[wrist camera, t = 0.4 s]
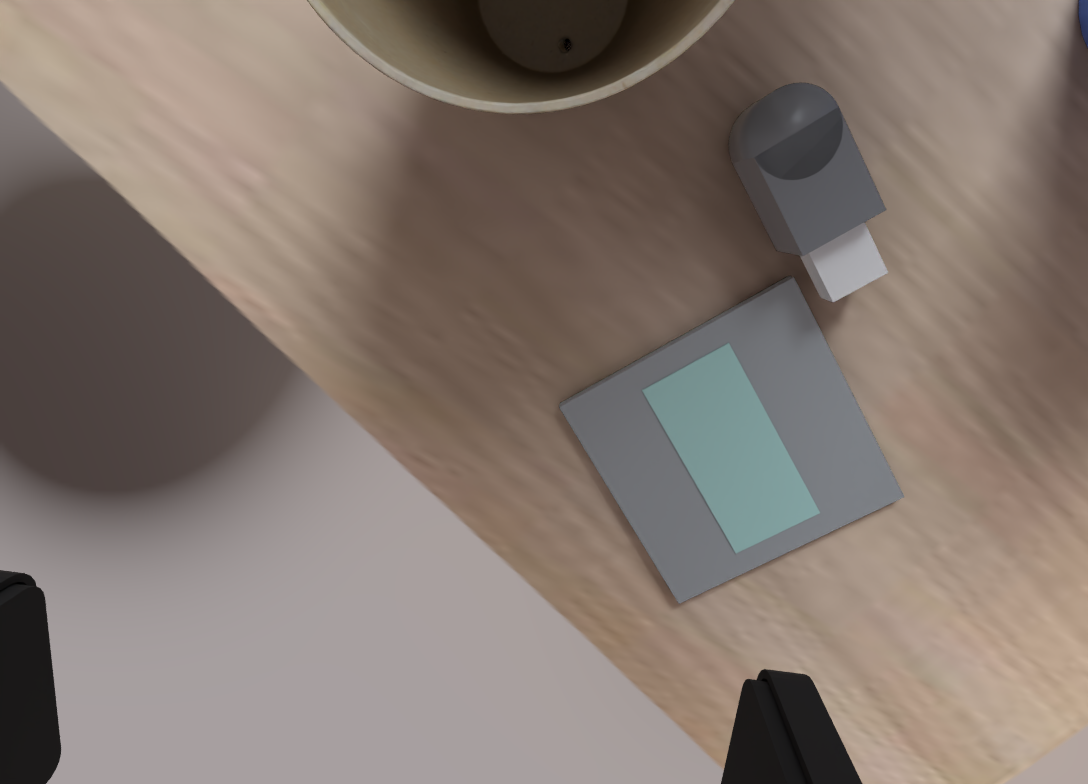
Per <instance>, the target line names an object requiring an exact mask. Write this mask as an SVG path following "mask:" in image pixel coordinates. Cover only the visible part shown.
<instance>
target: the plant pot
mask: <svg viewBox="0 0 1088 784" xmlns="http://www.w3.org/2000/svg"><path fill="white" fill-rule="evenodd" d="M307 1H308V2H309V4H310V5H311V6H312V8H313V9H314V10H315V11H316V13H317V14H318V15H319V16H320V18H321V19H322V20H323V21H324V22H325V23H326V25H327V26H328V27H329V28H330V29H331V30H332V31H333V32H334V33H335V34H336V35H337V36H338V37H339V38H340V39H341V40H342V41H343V42H344V43H345V44H346V45H347V46H348V47H350V48H351V49H352V50H353V51H354V52H355V53H356V54H358V55H359V56H360V57H362V58H363V59H364V60H365V61H367V62H368V63H369V64H371V65H372V66H373V67H375V68H376V69H377V70H379V71H380V72H382V73H383V74H384V75H386V76H388V77H390V78H391V79H393V80H395V81H396V82H398V83H400V84H402V85H404V86H406V87H408V88H410V89H412V90H414V91H416V92H418V93H420V94H423V95H425V96H427V97H430V98H432V99H435V100H438V101H441V102H444V103H447V104H450V105H453V106H458V107H462V108H466V109H470V110H476V111H483V112H489V113H501V114H534V113H546V112H554V111H561V110H565V109H570V108H574V107H578V106H583V105H586V104H589V103H592V102H595V101H599V100H602V99H604V98H607V97H609V96H612V95H614V94H617V93H619V92H621V91H624V90H626V89H628V88H630V87H631V86H633V85H635V84H637V83H639V82H641V81H643V80H644V79H646V78H648V77H650V76H651V75H653V74H654V73H656V72H657V71H659V70H660V69H662V68H663V67H665V66H666V65H668V64H669V63H671V62H672V61H673V60H675V59H676V58H677V57H679V56H680V55H681V54H682V53H684V52H685V51H686V50H687V49H688V48H689V47H691V46H692V45H693V44H694V43H695V42H696V41H698V40H699V39H700V38H701V37H702V36H703V35H704V34H705V33H706V32H707V31H708V30H709V29H710V28H711V27H712V26H713V25H714V24H715V23H716V22H717V21H718V20H719V19H720V18H721V17H722V16H723V14H724V13H725V12H726V11H727V10H728V8H729V7H730V6H731V5H732V4H733V2H734V1H735V0H307ZM566 39H569V40H570V42H571V48H570V50H566V49H565V47H564V42H565V40H566Z"/></svg>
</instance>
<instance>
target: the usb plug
mask: <svg viewBox="0 0 1088 784" xmlns="http://www.w3.org/2000/svg"><path fill="white" fill-rule="evenodd" d="M729 154H730V158H731V161H732V163H733V165H734V167H735V169H736V171H737V173H738V175H739V177H740V179H741V181H742V183H743V185H744V187H745V189H746V191H747V193H748V195H749V197H750V199H751V201H752V203H753V205H754V207H755V209H756V211H757V213H758V215H759V217H760V219H761V221H762V223H763V225H764V227H765V229H766V231H767V233H768V235H769V237H770V239H771V241H772V243H773V245H774V247H775V249H776V251H780V252H785V253H790V254H795V255H800V257H801V259H802V261H803V263H804V265H805V267H806V269H807V271H808V273H809V275H810V277H811V279H812V281H813V283H814V285H815V287H816V289H817V291H818V294H819V296H820V298H823V299H825V300H828V301H831V302H835V301H837V300H839V299H841V298H842V297H844V296H846V295H848V294H850V293H852V292H853V291H855V290H857V289H859V288H861V287H863V286H865V285H866V284H868V283H870V282H872V281H874V280H876V279H878V278H879V277H881V276H883V275H885V274H887V273H888V271H887V269H886V267H885V264H884V262H883V260H882V258H881V256H880V254H879V252H878V250H877V247H876V245H875V243H874V241H873V239H872V237H871V235H870V233H869V230H868V228H867V226H866V224H865V221H867V220H869V219H871V218H873V217H874V216H876V215H878V214H880V213H882V212H883V211H885V210H886V208H885V206H884V204H883V202H882V199H881V197H880V195H879V193H878V191H877V189H876V186H875V184H874V182H873V180H872V178H871V176H870V173H869V171H868V169H867V167H866V165H865V163H864V160H863V158H862V156H861V154H860V152H859V150H858V147H857V145H856V143H855V141H854V139H853V137H852V134H851V132H850V130H849V128H848V126H847V124H846V121H845V119H844V117H843V115H842V113H841V111H840V108H839V106H838V105H837V103H836V101H835V100H834V98H833V97H832V96H831V95H830V94H829V93H828V92H827V91H825V90H824V89H822V88H820V87H818V86H816V85H813V84H809V83H793V84H789V85H785V86H783V87H781V88H779V89H777V90H775V91H773V92H772V93H770V94H769V95H767V96H765V97H764V98H762V99H761V100H759V101H757V102H756V103H754V104H753V105H751V106H750V107H748V108H747V109H746V110H745V111H743V112H742V113H741V115H740V116H739V117H738V118H737V120H736V121H735V123H734V125H733V127H732V130H731V132H730V136H729Z"/></svg>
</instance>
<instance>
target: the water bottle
mask: <svg viewBox="0 0 1088 784" xmlns="http://www.w3.org/2000/svg"><path fill="white" fill-rule="evenodd" d="M1079 21H1080V26H1081V31H1082V36H1083V38H1084V41H1085V43H1086V45H1087V48H1088V0H1079Z"/></svg>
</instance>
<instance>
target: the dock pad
mask: <svg viewBox="0 0 1088 784" xmlns="http://www.w3.org/2000/svg"><path fill="white" fill-rule="evenodd" d="M559 408H560V410H561V411H562V413H563V415H564V416H565V418H566V419H567V421H568V423H569V424H570V426H571V428H572V429H573V431H574V433H575V434H576V436H577V438H578V439H579V441H580V442H581V444H582V446H583V447H584V449H585V451H586V452H587V454H588V456H589V457H590V459H591V460H592V462H593V464H594V465H595V467H596V469H597V470H598V472H599V474H600V475H601V477H602V479H603V480H604V482H605V483H606V485H607V487H608V488H609V490H610V492H611V493H612V495H613V497H614V498H615V500H616V502H617V503H618V505H619V506H620V508H621V510H622V511H623V513H624V515H625V516H626V518H627V520H628V521H629V523H630V524H631V526H632V528H633V529H634V531H635V533H636V534H637V536H638V538H639V539H640V541H641V543H642V544H643V546H644V547H645V549H646V551H647V552H648V554H649V556H650V557H651V559H652V561H653V562H654V564H655V566H656V567H657V569H658V570H659V572H660V574H661V575H662V577H663V579H664V580H665V582H666V584H667V585H668V587H669V589H670V590H671V592H672V593H673V595H674V597H675V598H676V600H677V602H678V603H679V604H680V603H682V602H684V601H686V600H688V599H690V598H692V597H695V596H697V595H699V594H701V593H703V592H705V591H707V590H709V589H711V588H714V587H716V586H718V585H720V584H722V583H724V582H726V581H728V580H730V579H733V578H735V577H737V576H739V575H741V574H743V573H745V572H747V571H749V570H752V569H754V568H756V567H758V566H760V565H762V564H764V563H766V562H768V561H771V560H773V559H775V558H777V557H779V556H781V555H783V554H785V553H787V552H790V551H792V550H794V549H796V548H798V547H800V546H802V545H804V544H806V543H809V542H811V541H813V540H815V539H817V538H819V537H821V536H823V535H825V534H827V533H830V532H832V531H834V530H836V529H838V528H840V527H842V526H844V525H846V524H849V523H851V522H853V521H855V520H857V519H859V518H861V517H863V516H865V515H868V514H870V513H872V512H874V511H876V510H878V509H880V508H882V507H884V506H887V505H889V504H891V503H893V502H895V501H897V500H899V499H901V498H903V497H904V495H903V493H902V491H901V489H900V487H899V485H898V483H897V481H896V479H895V477H894V475H893V473H892V471H891V469H890V467H889V465H888V463H887V461H886V459H885V457H884V455H883V453H882V451H881V449H880V447H879V445H878V443H877V441H876V439H875V437H874V435H873V433H872V431H871V429H870V427H869V425H868V423H867V421H866V419H865V417H864V415H863V413H862V411H861V409H860V407H859V405H858V403H857V401H856V399H855V397H854V395H853V393H852V392H851V390H850V388H849V386H848V384H847V382H846V380H845V378H844V376H843V374H842V372H841V370H840V368H839V366H838V364H837V362H836V360H835V358H834V356H833V354H832V352H831V350H830V348H829V346H828V344H827V342H826V340H825V338H824V336H823V334H822V332H821V330H820V328H819V326H818V324H817V322H816V320H815V318H814V316H813V314H812V312H811V310H810V308H809V306H808V304H807V302H806V300H805V298H804V296H803V294H802V292H801V290H800V288H799V286H798V284H797V282H796V280H795V278H794V277H792V276H788V277H786V278H784V279H783V280H781V281H779V282H777V283H775V284H774V285H772V286H770V287H768V288H766V289H765V290H763V291H761V292H759V293H757V294H756V295H754V296H752V297H750V298H748V299H747V300H745V301H743V302H741V303H739V304H738V305H736V306H734V307H732V308H730V309H729V310H727V311H725V312H723V313H721V314H720V315H718V316H716V317H714V318H712V319H711V320H709V321H707V322H705V323H703V324H702V325H700V326H698V327H696V328H694V329H693V330H691V331H689V332H687V333H685V334H684V335H682V336H680V337H678V338H676V339H675V340H673V341H671V342H669V343H667V344H666V345H664V346H662V347H660V348H658V349H657V350H655V351H653V352H651V353H649V354H648V355H646V356H644V357H642V358H640V359H639V360H637V361H635V362H633V363H631V364H630V365H628V366H626V367H624V368H622V369H621V370H619V371H617V372H615V373H613V374H612V375H610V376H608V377H606V378H604V379H603V380H601V381H599V382H597V383H595V384H594V385H592V386H590V387H588V388H586V389H585V390H583V391H581V392H579V393H577V394H576V395H574V396H572V397H570V398H568V399H567V400H565V401H563V402H561V403H560V404H559Z"/></svg>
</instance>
